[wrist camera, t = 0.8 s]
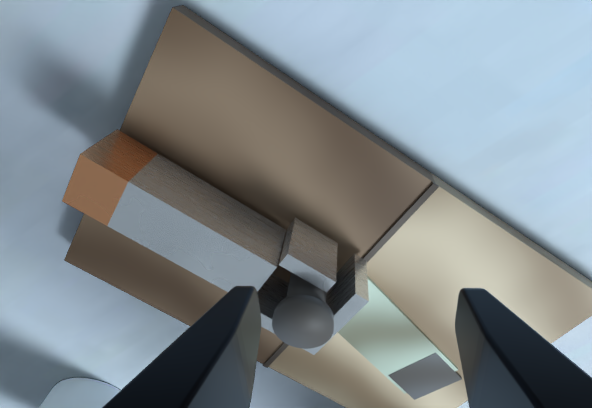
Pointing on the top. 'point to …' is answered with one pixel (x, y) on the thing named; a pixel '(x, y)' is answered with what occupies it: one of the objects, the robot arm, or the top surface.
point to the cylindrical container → (79, 394)
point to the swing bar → (209, 229)
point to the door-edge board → (326, 227)
